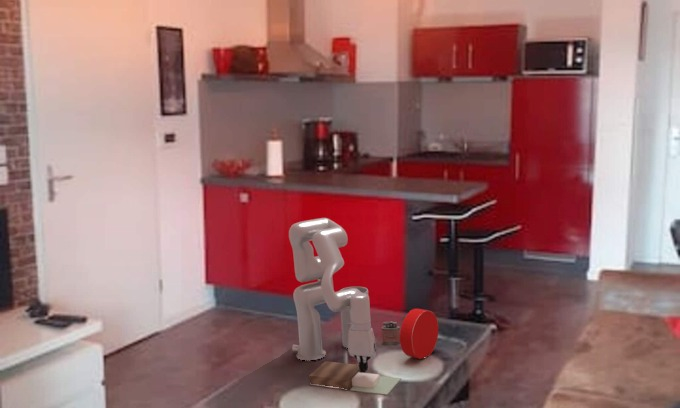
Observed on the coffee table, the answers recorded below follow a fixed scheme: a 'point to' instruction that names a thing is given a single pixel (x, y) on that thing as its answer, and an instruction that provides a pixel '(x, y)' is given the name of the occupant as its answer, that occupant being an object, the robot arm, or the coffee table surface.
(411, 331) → the toy clock
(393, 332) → the lighter
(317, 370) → the plate
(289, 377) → the coffee table surface
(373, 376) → the tile
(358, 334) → the robot arm
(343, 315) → the cylinder vase
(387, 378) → the mat
